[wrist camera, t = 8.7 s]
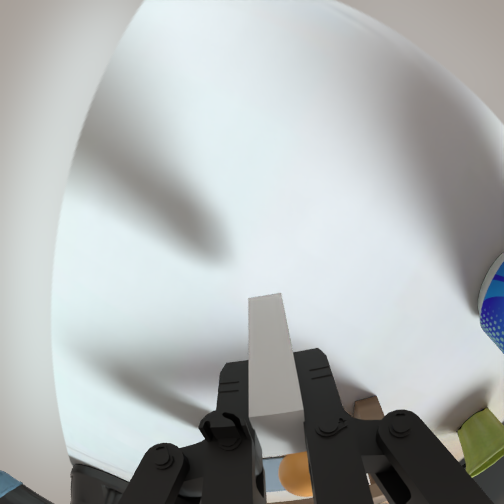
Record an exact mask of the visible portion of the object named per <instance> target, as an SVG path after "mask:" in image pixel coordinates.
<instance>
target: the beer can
mask: <svg viewBox="0 0 504 504" xmlns="http://www.w3.org/2000/svg"><path fill="white" fill-rule="evenodd" d="M478 310H479V314H480V325H481V328H482V329H483V331H484V332H485V333H486V334H487V335H488V336H489V337H490V339H491V340H492V341H493V342H494V343H495V344H496V345H497V347H498V348H499V349H500V350H501V351H502V352H503V354H504V252H503V253H502V254H501V255H500V256H499V257H498V258H497V259H496V261H495V262H494V263H493V265H492V266H491V268H490V269H489V271H488V273H487V275H486V277H485V279H484V281H483V284H482V286H481V289H480V293H479V298H478Z"/></svg>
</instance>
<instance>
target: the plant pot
mask: <svg viewBox="0 0 504 504" xmlns="http://www.w3.org/2000/svg"><path fill="white" fill-rule="evenodd" d="M458 436H459V440H460V443H461V446H462V450H463V454H464V458H465V462H466V472H467V473H468V474H469V475H470V476H471V477H474V476H475V475H477V474H479V473H481V472H482V471H484V470H485V469H487V468H488V467H489V466H491V465H492V464H493V463H495V462H496V461H497V460H498V459H500V458H501V457H502V456H503V455H504V426H503V425H502V423H501V422H500V421H499V420H498V419H497V418H496V417H495V415H494V414H493V413H492V412H491V411H490V410H489V409H488V408H485V409H484V410H483V411H480V412H477V413H476V414H474V415H473V416H472V417H471V418H469V419H468V420H467V421H466V422H465V423H464V424H463V425H462V428H461V429H460V430H458Z"/></svg>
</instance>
